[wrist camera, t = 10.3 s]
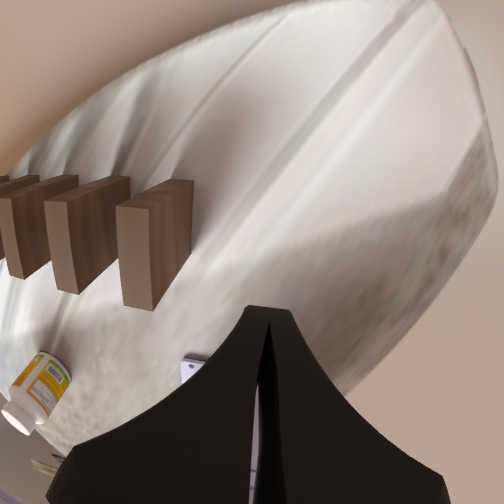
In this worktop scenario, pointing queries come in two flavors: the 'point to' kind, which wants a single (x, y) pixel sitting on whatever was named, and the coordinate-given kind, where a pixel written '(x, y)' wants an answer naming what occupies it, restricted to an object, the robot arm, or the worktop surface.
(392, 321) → the worktop surface
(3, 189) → the domino
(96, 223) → the domino
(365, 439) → the robot arm
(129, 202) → the domino
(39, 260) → the domino
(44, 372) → the supplement bottle
